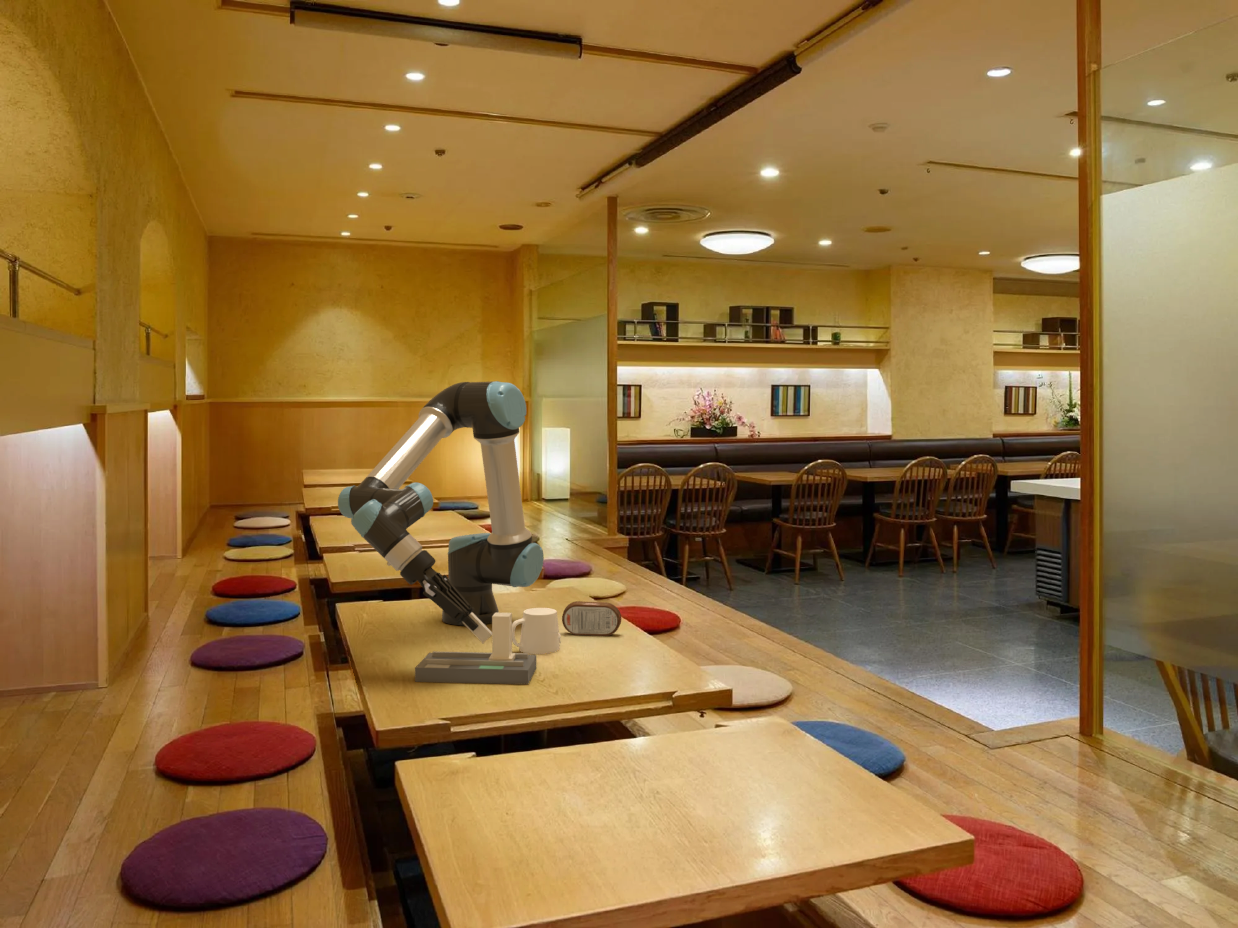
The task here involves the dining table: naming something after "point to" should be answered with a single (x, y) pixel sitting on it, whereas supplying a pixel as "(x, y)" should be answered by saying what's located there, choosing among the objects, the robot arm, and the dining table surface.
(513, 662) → the switch panel
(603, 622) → the tin
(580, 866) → the dining table surface
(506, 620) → the slider tab
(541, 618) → the mug
